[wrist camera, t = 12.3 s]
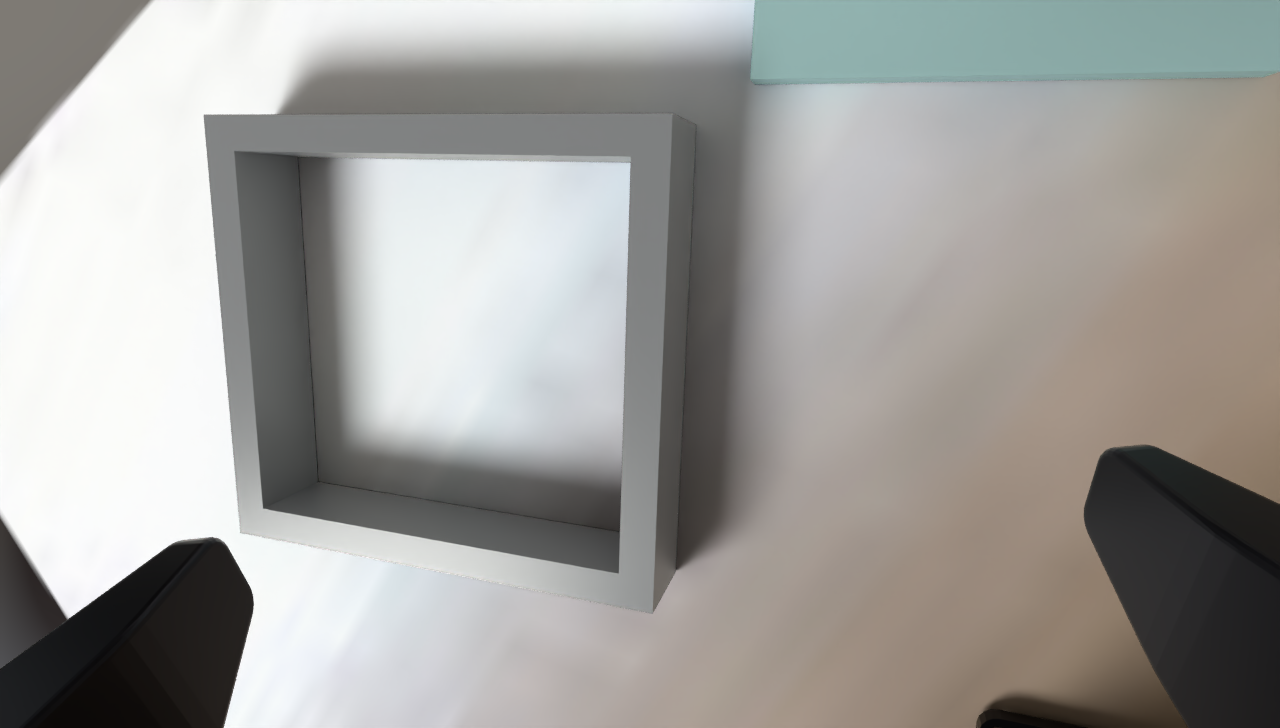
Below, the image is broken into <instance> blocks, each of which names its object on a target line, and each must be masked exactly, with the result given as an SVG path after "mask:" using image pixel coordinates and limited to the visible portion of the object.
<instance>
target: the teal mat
mask: <svg viewBox="0 0 1280 728" xmlns="http://www.w3.org/2000/svg"><path fill="white" fill-rule="evenodd" d="M1277 72H1280V0H755V8H754V24H753V41H752V57H751V74H750V80H751V81H752V82H753V83H754V84H755V85H757V84H826V83H895V82H964V81H1033V80H1103V79H1172V78H1241V77H1265V76H1268V75H1271V74H1274V73H1277Z"/></svg>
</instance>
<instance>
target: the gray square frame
mask: <svg viewBox="0 0 1280 728" xmlns="http://www.w3.org/2000/svg"><path fill="white" fill-rule="evenodd" d="M204 124H205V136H206V147H207V158H208V170H209V181H210V193H211V204H212V215H213V227H214V238H215V250H216V261H217V272H218V284H219V295H220V307H221V318H222V329H223V341H224V352H225V363H226V375H227V386H228V398H229V409H230V420H231V432H232V443H233V455H234V466H235V477H236V489H237V500H238V512H239V523H240V533H244V534H249V535H254V536H259V537H264V538H269V539H274V540H279V541H284V542H289V543H294V544H300V545H305V546H310V547H315V548H320V549H325V550H330V551H335V552H340V553H345V554H350V555H356V556H361V557H366V558H371V559H376V560H381V561H386V562H391V563H396V564H401V565H406V566H412V567H417V568H422V569H427V570H432V571H437V572H442V573H447V574H452V575H457V576H463V577H468V578H473V579H478V580H483V581H488V582H493V583H498V584H503V585H508V586H513V587H519V588H524V589H529V590H534V591H539V592H544V593H549V594H554V595H559V596H564V597H569V598H575V599H580V600H585V601H590V602H595V603H600V604H605V605H610V606H615V607H620V608H625V609H631V610H636V611H641V612H646V613H651V614H653V612H654V610H655V609H656V607H657V605H658V603H659V601H660V599H661V598H662V596H663V594H664V592H665V590H666V589H667V587H668V585H669V583H670V581H671V579H672V578H673V576H674V574H675V572H676V552H677V531H678V509H679V488H680V466H681V445H682V423H683V402H684V380H685V359H686V338H687V316H688V295H689V273H690V252H691V230H692V209H693V187H694V166H695V144H696V124H694V123H692V122H690V121H688V120H686V119H684V118H682V117H680V116H678V115H676V114H674V113H547V114H271V115H204ZM298 157H315V158H376V159H437V160H499V161H560V162H621V163H631V169H630V204H629V238H628V273H627V307H626V342H625V377H624V411H623V446H622V480H621V515H620V532H617V531H611V530H605V529H599V528H593V527H587V526H581V525H575V524H569V523H562V522H556V521H550V520H544V519H538V518H532V517H526V516H520V515H514V514H508V513H502V512H496V511H490V510H484V509H478V508H472V507H466V506H460V505H454V504H448V503H442V502H436V501H430V500H424V499H418V498H412V497H406V496H400V495H394V494H388V493H382V492H376V491H370V490H364V489H358V488H351V487H345V486H339V485H333V484H327V483H321V482H318V473H317V457H316V441H315V425H314V409H313V393H312V377H311V361H310V345H309V330H308V314H307V298H306V282H305V266H304V250H303V234H302V218H301V202H300V186H299V171H298Z"/></svg>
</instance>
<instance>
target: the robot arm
mask: <svg viewBox="0 0 1280 728" xmlns="http://www.w3.org/2000/svg"><path fill="white" fill-rule="evenodd" d="M1084 521H1085V526H1086V529H1087V532H1088V534H1089V536H1090V539H1091V541H1092V543H1093V545H1094V547H1095V549H1096V551H1097V553H1098V555H1099V558H1100V560H1101V562H1102V564H1103V566H1104V568H1105V570H1106V572H1107V574H1108V576H1109V579H1110V581H1111V583H1112V585H1113V587H1114V589H1115V591H1116V593H1117V595H1118V597H1119V600H1120V602H1121V604H1122V606H1123V608H1124V610H1125V612H1126V614H1127V616H1128V619H1129V621H1130V623H1131V625H1132V627H1133V629H1134V631H1135V633H1136V635H1137V637H1138V640H1139V642H1140V644H1141V646H1142V648H1143V650H1144V652H1145V654H1146V656H1147V658H1148V660H1149V661H1150V663H1151V665H1152V667H1153V669H1154V671H1155V673H1156V675H1157V676H1158V678H1159V680H1160V682H1161V683H1162V685H1163V687H1164V688H1165V690H1166V692H1167V694H1168V695H1169V697H1170V699H1171V700H1172V702H1173V704H1174V705H1175V707H1176V709H1177V710H1178V712H1179V713H1180V715H1181V717H1182V718H1183V720H1184V722H1185V723H1186V725H1187V727H1188V728H1280V504H1278V503H1276V502H1274V501H1272V500H1270V499H1268V498H1265V497H1263V496H1261V495H1259V494H1257V493H1255V492H1252V491H1250V490H1248V489H1246V488H1244V487H1242V486H1239V485H1237V484H1235V483H1233V482H1231V481H1229V480H1226V479H1224V478H1222V477H1220V476H1218V475H1216V474H1214V473H1211V472H1209V471H1207V470H1205V469H1203V468H1201V467H1198V466H1196V465H1194V464H1192V463H1190V462H1188V461H1185V460H1183V459H1181V458H1179V457H1177V456H1175V455H1172V454H1170V453H1168V452H1166V451H1164V450H1162V449H1159V448H1157V447H1155V446H1151V445H1134V446H1124V447H1114V448H1110V449H1107V450H1106V451H1105V452H1104V453H1103V454H1102V455H1101V456H1100V458H1099V460H1098V463H1097V467H1096V470H1095V473H1094V477H1093V480H1092V483H1091V486H1090V490H1089V493H1088V496H1087V500H1086V503H1085V507H1084ZM253 606H254V602H253V594H252V590H251V588H250V586H249V584H248V582H247V581H246V579H245V577H244V575H243V573H242V572H241V570H240V568H239V566H238V564H237V563H236V561H235V559H234V557H233V555H232V554H231V552H230V550H229V548H228V547H227V545H226V544H225V543H224V542H223V541H221V540H220V539H218V538H213V537H209V538H199V539H189V540H182V541H178V542H175V543H173V544H171V545H170V546H168V547H167V548H165V549H164V550H163V551H161V552H160V553H158V554H157V555H156V556H154V557H153V558H152V559H150V560H149V561H148V562H146V563H145V564H143V565H142V566H141V567H139V568H138V569H137V570H135V571H134V572H132V573H131V574H130V575H128V576H127V577H126V578H124V579H123V580H121V581H120V582H119V583H117V584H116V585H115V586H113V587H112V588H110V589H109V590H108V591H106V592H105V593H104V594H102V595H101V596H99V597H98V598H97V599H95V600H94V601H93V602H91V603H90V604H88V605H87V606H86V607H84V608H83V609H82V610H80V611H79V612H77V613H76V614H75V615H73V616H72V617H71V618H69V619H68V620H66V621H65V622H64V623H62V624H61V625H60V626H58V627H57V628H56V629H54V630H53V631H51V632H50V633H49V634H47V635H46V636H44V637H43V638H42V639H40V640H39V641H38V642H36V643H35V644H34V645H32V646H31V647H30V648H28V649H27V650H25V651H24V652H23V653H21V654H20V655H18V656H17V657H16V658H14V659H13V660H12V661H10V662H9V663H8V664H6V665H5V666H3V667H2V668H1V669H0V728H224V724H225V720H226V716H227V712H228V708H229V705H230V701H231V697H232V693H233V689H234V685H235V681H236V677H237V673H238V669H239V665H240V662H241V658H242V654H243V650H244V646H245V642H246V638H247V634H248V630H249V626H250V623H251V619H252V614H253ZM994 727H1002V728H1086V727H1081V726H1076V725H1071V724H1066V723H1061V722H1057V721H1052V720H1047V719H1042V718H1037V717H1032V716H1027V715H1023V714H1018V713H1013V712H1008V711H1003V710H996V709H991V710H987V711H984V712H983V713H982V714H981V715H979V717H978V720H977V723H976V728H994Z"/></svg>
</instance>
